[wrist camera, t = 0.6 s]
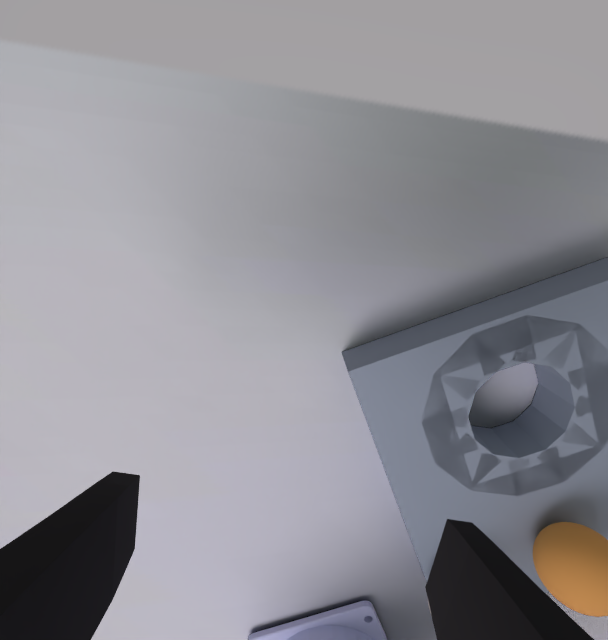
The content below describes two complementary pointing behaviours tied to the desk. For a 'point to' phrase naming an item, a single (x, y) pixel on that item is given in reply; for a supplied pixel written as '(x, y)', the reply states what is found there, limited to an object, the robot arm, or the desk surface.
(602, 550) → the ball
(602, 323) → the grey socket plate
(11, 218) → the desk surface
